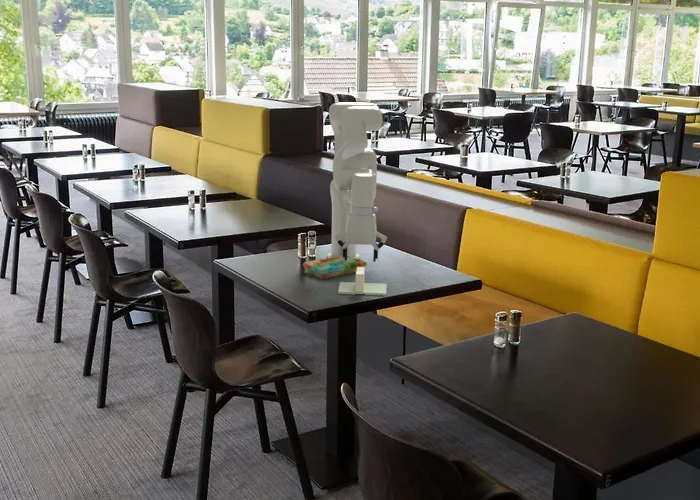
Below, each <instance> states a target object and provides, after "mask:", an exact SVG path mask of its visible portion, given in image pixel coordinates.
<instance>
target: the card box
mask: <svg viewBox="0 0 700 500" xmlns="http://www.w3.org/2000/svg"><path fill="white" fill-rule="evenodd" d="M365 268H366V266H365V267H357V271H356V272H355V283H356V291H357V292H363V290H364V283H365V276H366V275H365V271H366V269H365Z"/></svg>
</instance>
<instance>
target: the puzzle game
mask: <svg viewBox="0 0 700 500" xmlns="http://www.w3.org/2000/svg"><path fill="white" fill-rule="evenodd" d="M367 263H368V262H367V261H364V260H361V259H360V258H359V259H356V258H353V257H351V256H348V255H347V260H346V261H345V257H343V256H340V257H333V258H323V257H322V258H320V259H315V260H310V261H309V260H307V261H304V262H303V263H302V268H303V269H304V270H306V272H307V273H308V274H310V275H312V276H315V277H316V278H317V277H318V278H319V277H320V278H319V279H322V278H323V279H327V277H329V278H333V277H332V276H334V277H339V276H344V275H350V274H355V273H356V271H357V267H365V268H366V266H367ZM354 272H355V273H354ZM349 273H350V274H349ZM338 275H339V276H338Z"/></svg>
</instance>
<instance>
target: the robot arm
mask: <svg viewBox="0 0 700 500" xmlns="http://www.w3.org/2000/svg"><path fill="white" fill-rule="evenodd" d="M328 116H329V118H328V119H329V124H330V125H331V128H332V132H333V136H334V150H333V151H334V157H333V160H332V175H333V176H332V177H333V179H332V180H331V182H330V185H329V189H330V191H329V192H330V198H331V246H330V247H331V249H330V251H331V252H328V253H326V254H327V255H326V257H327V258H333V257H340V256H343V257H345V261H346V260H347V255H348V256H351V257H353V258H356V259H359V260H360V258H361V257H360V256H361V255H360V254H359V253H358V252H357V245H364V246H365V245H366V246H372V247H373V258H372V259H373V260H372V262H374V263H375V262H376V260H378V258H379V251H380V249H381V248H382V247H383V246H384V245H385V243H386V241H387V240H388V236H386V235H384V234H382V233H381V232H379V231H377V216H376V214H375V212H377V213H378V210H379V208H378V207H376V206H374V205H375V204H374V200H375V199H376V196H377V195H376V194H377V173H378V172H377V167H378V166H377V165H378V159H377V153H376V151H374V150H373V149H372V148H368V145H369V142H368V141H369V140H368V134H367V131H369V132H371V131H372V132H375V131H379V130H381V128H382V125H383V114H382V112H381V109H380V107H379V106H378V105H376V104H375V103H373V102H355V101H354V102H352V101H351V102H350V101H348V102H347V101H346V102H335V103H332V104H331V105H330V106H329V109H328ZM377 238H379V239H380V240H381V241H380V242H377ZM327 258H326V259H327Z"/></svg>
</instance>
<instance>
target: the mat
mask: <svg viewBox="0 0 700 500" xmlns="http://www.w3.org/2000/svg"><path fill="white" fill-rule="evenodd" d="M387 286H388V285H387V283H377V282H376V283H375V282H374V283H373V282H364V290H363V292H357V291H356V282H351V281H350V282H349V281H348V282H347V281H340V282H339V286H338V291H337V294H338V295H355V294H365V295H364V296H381V295H382V297H383V296H387Z"/></svg>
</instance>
